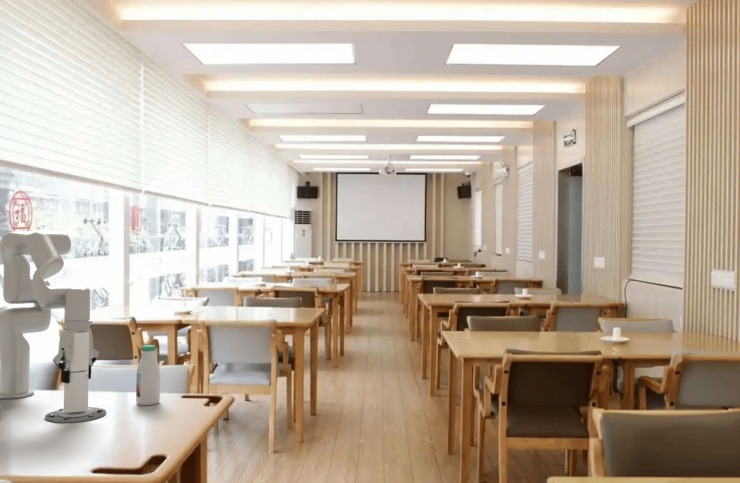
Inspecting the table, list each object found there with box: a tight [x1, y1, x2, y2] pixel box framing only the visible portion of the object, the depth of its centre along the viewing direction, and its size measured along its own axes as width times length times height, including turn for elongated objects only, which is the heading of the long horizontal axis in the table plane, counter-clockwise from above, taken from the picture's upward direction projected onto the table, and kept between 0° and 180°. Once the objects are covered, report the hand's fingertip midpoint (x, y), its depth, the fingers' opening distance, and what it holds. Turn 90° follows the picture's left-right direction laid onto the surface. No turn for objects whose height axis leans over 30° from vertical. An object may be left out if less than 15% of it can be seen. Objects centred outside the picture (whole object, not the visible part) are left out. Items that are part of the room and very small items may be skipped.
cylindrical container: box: [63, 331, 89, 412], centre depth 217 cm, size 7×7×25 cm
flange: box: [44, 406, 107, 424], centre depth 217 cm, size 18×18×1 cm
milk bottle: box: [135, 344, 161, 406], centre depth 235 cm, size 8×8×20 cm
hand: (76, 380), depth 217 cm, fingers closed on cylindrical container, 7 cm apart
